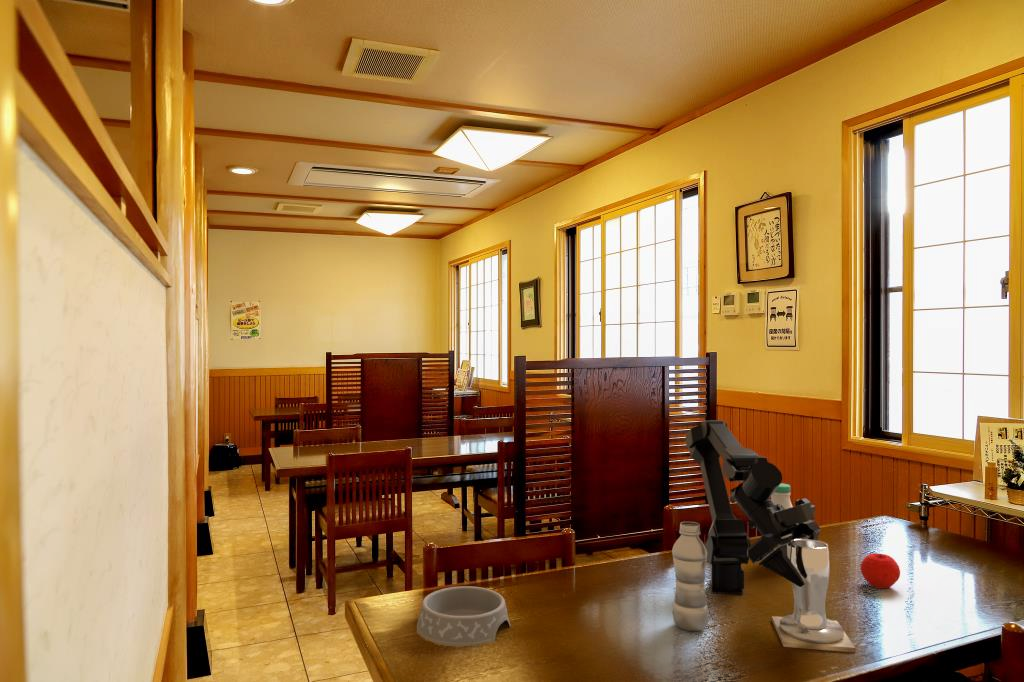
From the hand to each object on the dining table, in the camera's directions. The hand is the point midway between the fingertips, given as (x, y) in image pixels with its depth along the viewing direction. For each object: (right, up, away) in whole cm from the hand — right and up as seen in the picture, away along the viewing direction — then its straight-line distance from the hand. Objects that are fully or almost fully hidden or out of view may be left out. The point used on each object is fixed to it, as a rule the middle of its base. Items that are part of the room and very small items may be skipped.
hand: (814, 580), depth 128 cm
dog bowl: (-66, -11, +5) cm, 67 cm away
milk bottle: (+9, -11, +40) cm, 43 cm away
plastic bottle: (-22, -11, +4) cm, 25 cm away
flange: (-1, -10, 0) cm, 11 cm away
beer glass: (0, -9, +1) cm, 9 cm away
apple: (+26, -11, +26) cm, 38 cm away
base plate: (-1, -10, 0) cm, 11 cm away
